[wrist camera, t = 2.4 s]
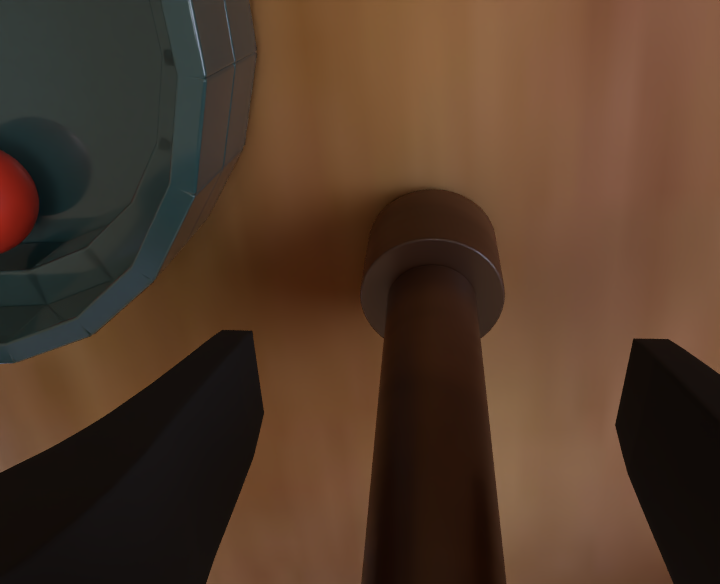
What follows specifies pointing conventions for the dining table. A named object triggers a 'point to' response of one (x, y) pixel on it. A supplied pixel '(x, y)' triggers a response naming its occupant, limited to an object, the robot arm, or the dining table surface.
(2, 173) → the tomato
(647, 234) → the dining table surface
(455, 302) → the muddler
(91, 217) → the bowl
